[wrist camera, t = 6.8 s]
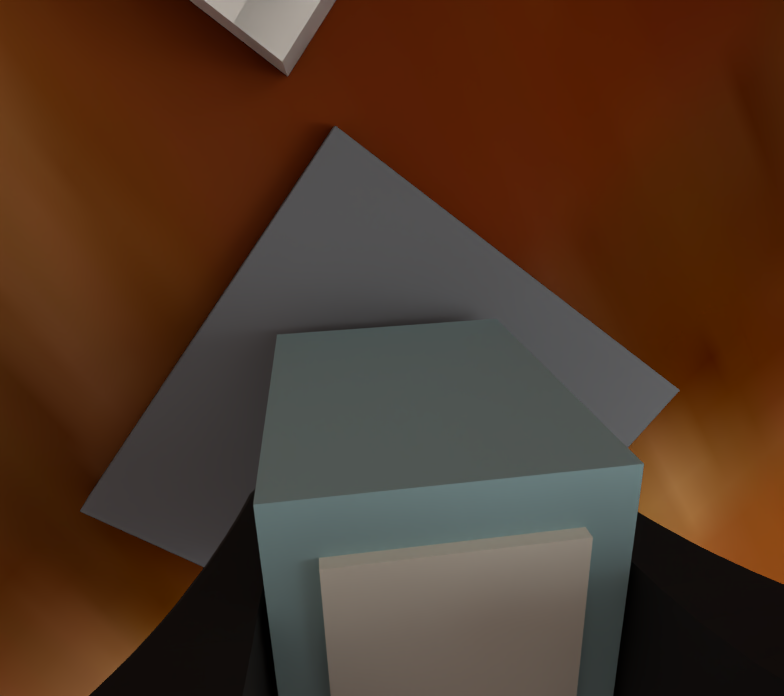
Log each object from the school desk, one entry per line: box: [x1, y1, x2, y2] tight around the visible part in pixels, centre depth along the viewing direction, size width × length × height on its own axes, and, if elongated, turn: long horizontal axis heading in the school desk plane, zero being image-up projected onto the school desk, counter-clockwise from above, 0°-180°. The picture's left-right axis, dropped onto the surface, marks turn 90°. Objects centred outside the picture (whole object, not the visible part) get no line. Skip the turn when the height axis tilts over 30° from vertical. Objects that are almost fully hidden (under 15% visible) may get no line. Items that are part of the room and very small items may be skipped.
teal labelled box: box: [253, 319, 644, 696], centre depth 10 cm, size 4×6×6 cm
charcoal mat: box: [80, 126, 679, 567], centre depth 14 cm, size 10×10×1 cm
